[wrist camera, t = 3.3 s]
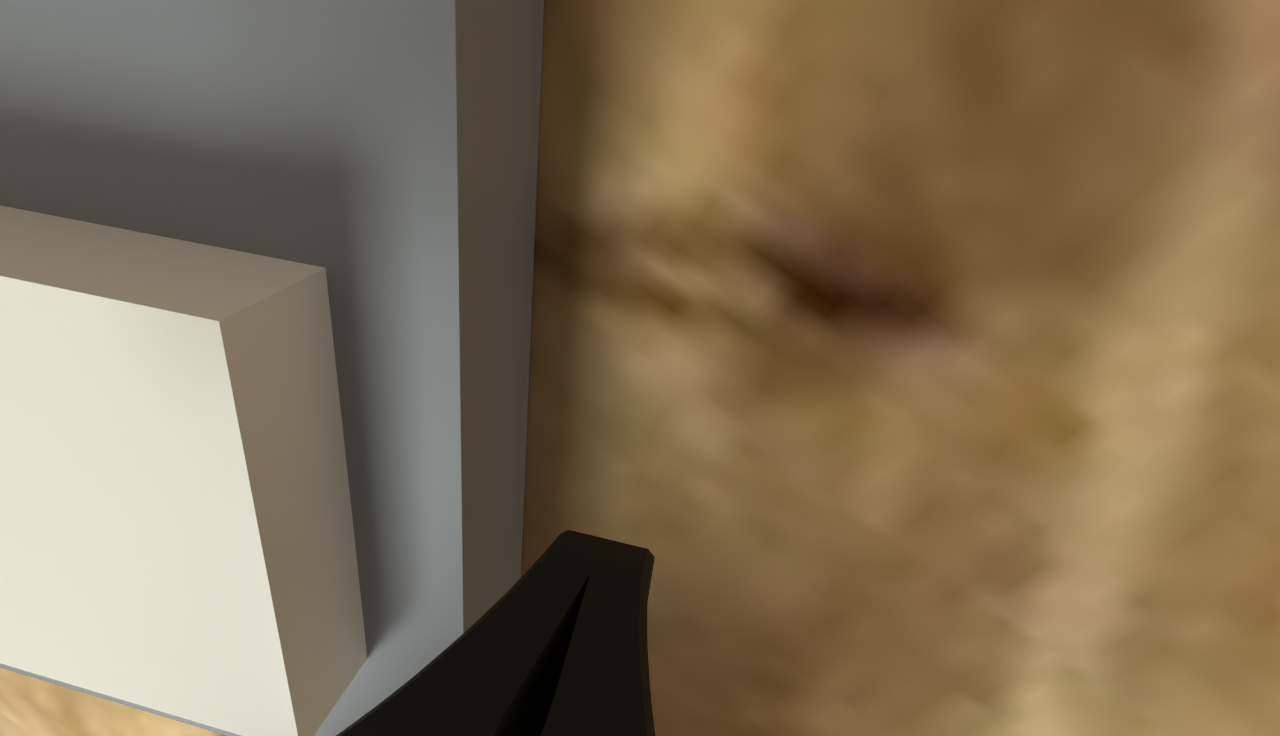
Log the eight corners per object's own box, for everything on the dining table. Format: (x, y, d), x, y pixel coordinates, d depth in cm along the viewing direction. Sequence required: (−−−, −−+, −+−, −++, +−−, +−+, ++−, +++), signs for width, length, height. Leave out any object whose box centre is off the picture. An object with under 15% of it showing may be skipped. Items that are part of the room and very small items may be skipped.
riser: (516, 690, 18) (465, 807, 15) (109, 579, 19) (-1, 667, 17) (545, -29, 10) (453, -48, 8) (-122, -109, 12) (-388, -148, 9)
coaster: (367, 658, 13) (301, 753, 12) (18, 562, 14) (-90, 635, 13) (325, 267, 10) (218, 321, 8) (-140, 178, 11) (-325, 208, 9)
